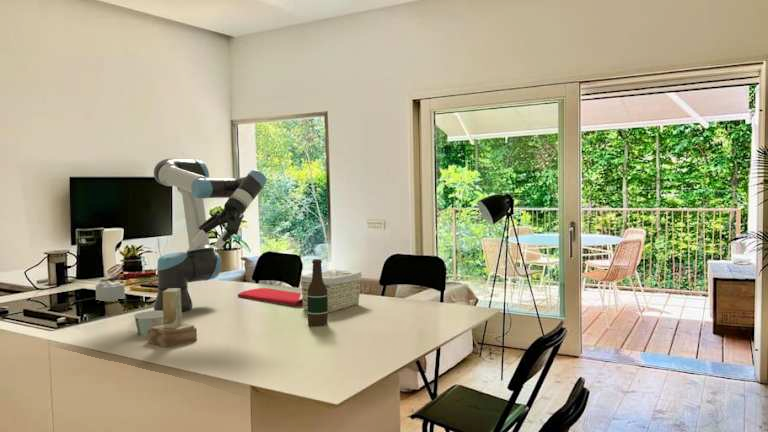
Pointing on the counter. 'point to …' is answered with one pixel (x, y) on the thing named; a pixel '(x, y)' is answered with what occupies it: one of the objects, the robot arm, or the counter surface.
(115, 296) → the lumpy-topped squat cylinder
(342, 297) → the storage basket
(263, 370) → the counter surface
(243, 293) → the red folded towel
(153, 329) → the walnut base
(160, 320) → the food container
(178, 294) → the skincare box
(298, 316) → the counter surface
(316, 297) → the beer bottle
